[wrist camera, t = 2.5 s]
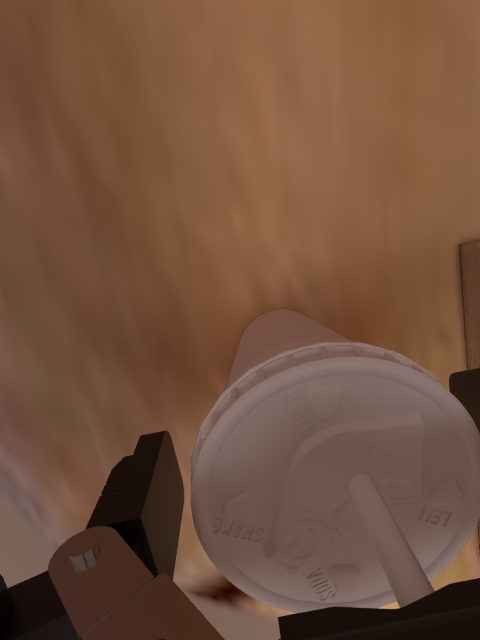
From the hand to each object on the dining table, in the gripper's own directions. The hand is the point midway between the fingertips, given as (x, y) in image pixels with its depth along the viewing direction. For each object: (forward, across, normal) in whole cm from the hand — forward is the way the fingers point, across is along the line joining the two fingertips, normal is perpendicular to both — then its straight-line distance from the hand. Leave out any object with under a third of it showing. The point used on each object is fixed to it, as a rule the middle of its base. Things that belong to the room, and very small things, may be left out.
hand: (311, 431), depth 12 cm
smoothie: (+7, 0, 0) cm, 7 cm away
